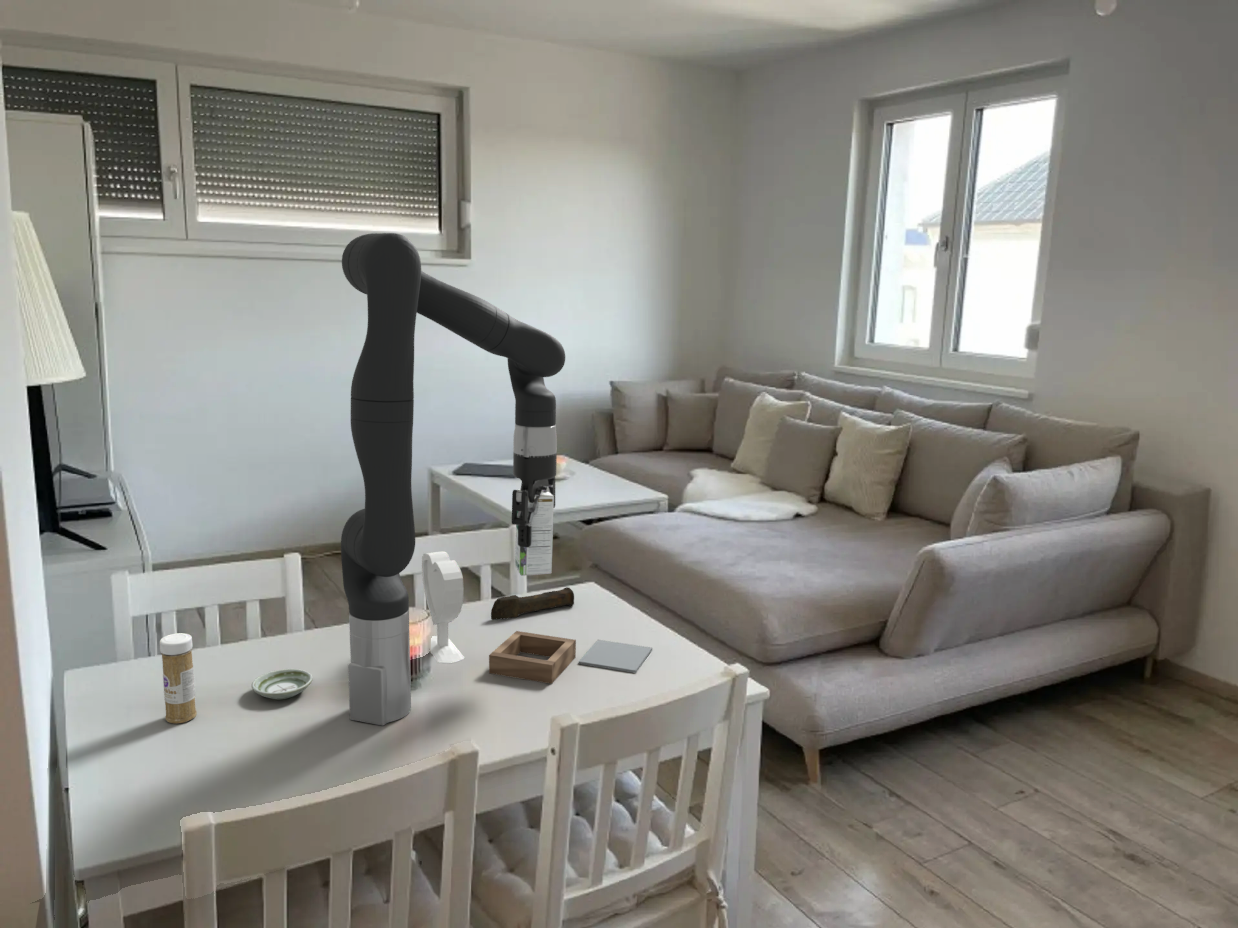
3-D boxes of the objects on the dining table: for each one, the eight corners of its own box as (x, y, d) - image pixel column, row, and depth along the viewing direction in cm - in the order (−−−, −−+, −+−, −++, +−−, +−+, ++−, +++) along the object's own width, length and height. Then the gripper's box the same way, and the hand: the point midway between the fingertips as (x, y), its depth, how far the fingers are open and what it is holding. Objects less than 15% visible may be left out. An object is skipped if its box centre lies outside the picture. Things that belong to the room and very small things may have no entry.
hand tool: (566, 602, 201) (566, 581, 200) (575, 607, 198) (575, 587, 197) (486, 617, 192) (485, 595, 191) (493, 623, 188) (493, 601, 187)
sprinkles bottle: (159, 720, 144) (152, 640, 141) (183, 708, 148) (177, 630, 146) (180, 727, 142) (173, 645, 140) (204, 714, 146) (198, 635, 144)
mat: (635, 672, 166) (635, 670, 166) (578, 663, 169) (578, 661, 169) (652, 649, 176) (652, 647, 176) (597, 641, 179) (597, 639, 179)
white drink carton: (514, 566, 166) (514, 488, 163) (546, 564, 168) (547, 486, 165) (520, 576, 161) (521, 495, 158) (553, 574, 163) (554, 494, 160)
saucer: (286, 676, 161) (286, 663, 161) (325, 690, 157) (325, 676, 156) (239, 696, 153) (238, 683, 153) (278, 712, 148) (277, 698, 148)
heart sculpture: (419, 636, 180) (417, 547, 176) (444, 632, 182) (443, 544, 179) (441, 666, 166) (440, 571, 163) (468, 662, 169) (467, 568, 165)
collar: (551, 683, 161) (552, 664, 160) (489, 673, 164) (489, 654, 164) (575, 657, 172) (575, 639, 171) (516, 648, 175) (516, 630, 175)
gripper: (531, 441, 168) (530, 527, 171) (497, 455, 154) (497, 548, 158) (569, 445, 165) (568, 532, 169) (539, 459, 152) (538, 553, 155)
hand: (533, 540), depth 163 cm, fingers closed on white drink carton, 8 cm apart
